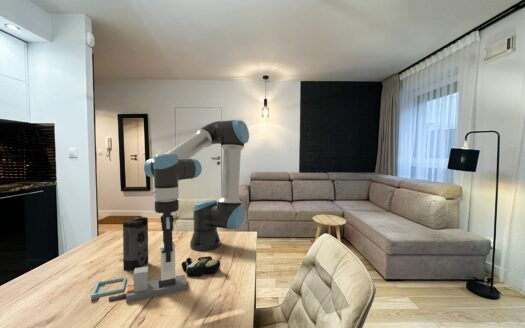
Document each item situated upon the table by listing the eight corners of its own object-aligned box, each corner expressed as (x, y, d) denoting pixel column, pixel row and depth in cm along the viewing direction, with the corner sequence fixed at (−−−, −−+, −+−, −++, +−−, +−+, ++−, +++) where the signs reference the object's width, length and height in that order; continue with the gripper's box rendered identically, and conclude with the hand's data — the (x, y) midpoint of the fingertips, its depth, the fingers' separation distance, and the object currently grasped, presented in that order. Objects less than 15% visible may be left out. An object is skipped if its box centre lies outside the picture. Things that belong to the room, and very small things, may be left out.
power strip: (184, 282, 88) (184, 258, 87) (187, 292, 81) (186, 266, 81) (111, 297, 78) (110, 270, 78) (107, 310, 72) (106, 280, 72)
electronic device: (134, 273, 95) (133, 222, 94) (121, 271, 96) (120, 222, 95) (150, 262, 104) (149, 217, 103) (138, 261, 105) (137, 216, 104)
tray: (126, 281, 88) (126, 276, 88) (123, 294, 80) (123, 289, 80) (97, 286, 85) (97, 281, 85) (91, 300, 76) (91, 295, 76)
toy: (191, 254, 103) (222, 247, 100) (195, 271, 103) (227, 264, 100) (174, 267, 91) (209, 259, 88) (179, 286, 91) (215, 280, 88)
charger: (174, 272, 85) (173, 241, 85) (175, 277, 81) (174, 245, 81) (161, 274, 83) (160, 243, 83) (161, 280, 79) (160, 247, 79)
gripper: (154, 196, 87) (155, 258, 88) (154, 205, 72) (156, 282, 73) (176, 194, 91) (177, 255, 92) (180, 203, 75) (182, 276, 76)
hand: (167, 267), depth 82 cm, fingers closed on charger, 4 cm apart
